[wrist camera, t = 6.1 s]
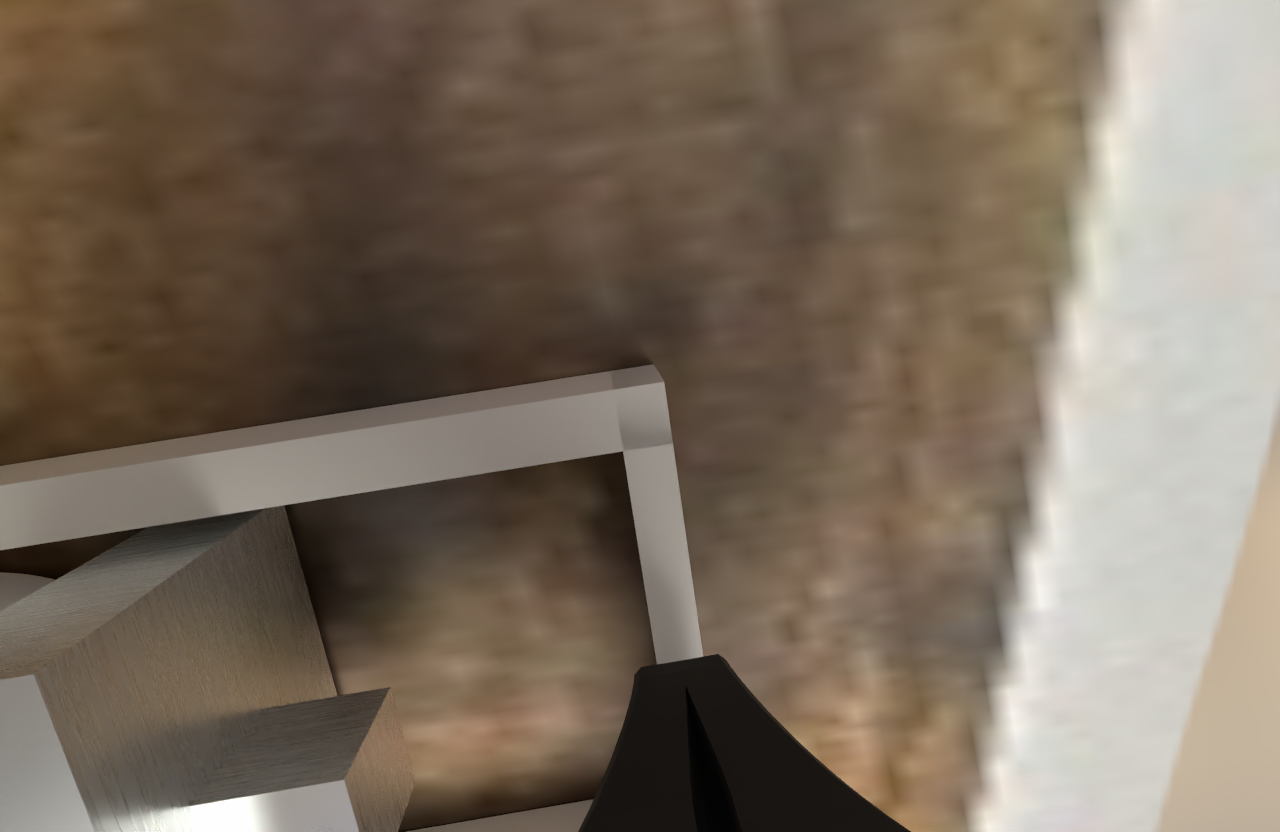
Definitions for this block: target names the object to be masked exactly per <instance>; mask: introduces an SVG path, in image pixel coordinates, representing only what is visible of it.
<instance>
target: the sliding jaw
mask: <svg viewBox="0 0 1280 832" xmlns="http://www.w3.org/2000/svg"><path fill="white" fill-rule="evenodd" d="M414 785H415V780H414V776H413V772H412V768H411V764H410V761H409V757H408V753H407V749H406V745H405V741H404V737H403V734H402V730H401V726H400V722H399V718H398V714H397V710H396V706H395V703H394V699H393V695H392V691H391V687H388V688H382V689H376V690H370V691H364V692H358V693H352V694H346V695H340V696H337V692H336V689H335V685H334V681H333V678H332V674H331V671H330V667H329V664H328V660H327V656H326V653H325V649H324V646H323V642H322V638H321V635H320V631H319V628H318V624H317V621H316V617H315V613H314V610H313V606H312V603H311V599H310V595H309V592H308V588H307V585H306V581H305V578H304V574H303V570H302V567H301V563H300V560H299V556H298V552H297V549H296V545H295V542H294V538H293V535H292V531H291V527H290V524H289V520H288V517H287V513H286V509H285V506H284V505H282V506H276V507H270V508H264V509H257V510H251V511H245V512H238V513H232V514H226V515H220V516H213V517H207V518H201V519H194V520H188V521H182V522H176V523H169V524H163V525H157V526H150V527H148V528H146V529H144V530H142V531H141V532H139V533H137V534H135V535H134V536H132V537H130V538H128V539H127V540H125V541H123V542H121V543H120V544H118V545H116V546H114V547H113V548H111V549H109V550H107V551H106V552H104V553H102V554H100V555H99V556H97V557H95V558H93V559H92V560H90V561H88V562H86V563H85V564H83V565H81V566H79V567H78V568H76V569H74V570H72V571H70V572H69V573H67V574H65V575H63V576H62V577H60V578H58V579H56V580H55V581H53V582H51V583H49V584H48V585H46V586H44V587H42V588H41V589H39V590H37V591H35V592H34V593H32V594H30V595H28V596H27V597H25V598H23V599H21V600H20V601H18V602H16V603H14V604H13V605H11V606H9V607H7V608H6V609H4V610H2V611H0V832H398V830H399V827H400V824H401V821H402V818H403V816H404V813H405V810H406V807H407V804H408V802H409V799H410V796H411V793H412V790H413V788H414Z"/></svg>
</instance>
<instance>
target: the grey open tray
mask: <svg viewBox="0 0 1280 832" xmlns="http://www.w3.org/2000/svg"><path fill="white" fill-rule="evenodd" d="M622 451H623V454H624V461H625V467H626V473H627V479H628V486H629V492H630V498H631V505H632V511H633V517H634V523H635V530H636V536H637V542H638V549H639V555H640V561H641V567H642V574H643V580H644V586H645V593H646V599H647V605H648V612H649V618H650V624H651V630H652V637H653V643H654V649H655V656H656V662H657V664H663V663H669V662H675V661H681V660H687V659H693V658H698V657H703V652H702V645H701V638H700V631H699V624H698V617H697V610H696V603H695V596H694V589H693V582H692V575H691V568H690V560H689V553H688V546H687V539H686V532H685V525H684V518H683V511H682V504H681V497H680V490H679V483H678V476H677V469H676V462H675V455H674V447H673V440H672V433H671V426H670V419H669V412H668V405H667V398H666V391H665V384H664V381H663V379H662V377H661V376H660V374H659V372H658V370H657V369H656V367H655V365H654V364H652V365H646V366H640V367H633V368H627V369H620V370H614V371H607V372H601V373H595V374H588V375H582V376H575V377H569V378H562V379H556V380H550V381H543V382H537V383H530V384H524V385H517V386H511V387H505V388H498V389H492V390H485V391H479V392H472V393H466V394H460V395H453V396H447V397H440V398H434V399H427V400H421V401H415V402H408V403H402V404H395V405H389V406H383V407H376V408H370V409H363V410H357V411H350V412H344V413H338V414H331V415H325V416H318V417H312V418H305V419H299V420H293V421H286V422H280V423H273V424H267V425H260V426H254V427H248V428H241V429H235V430H228V431H222V432H215V433H209V434H203V435H196V436H190V437H183V438H177V439H170V440H164V441H158V442H151V443H145V444H138V445H132V446H125V447H119V448H113V449H106V450H100V451H93V452H87V453H80V454H74V455H68V456H61V457H55V458H48V459H42V460H35V461H29V462H23V463H16V464H10V465H3V466H0V550H6V549H12V548H18V547H25V546H31V545H37V544H43V543H50V542H56V541H62V540H69V539H75V538H81V537H87V536H94V535H100V534H106V533H113V532H119V531H125V530H131V529H138V528H144V527H150V526H157V525H163V524H169V523H176V522H182V521H188V520H194V519H201V518H207V517H213V516H220V515H226V514H232V513H238V512H245V511H251V510H257V509H264V508H270V507H276V506H282V505H289V504H295V503H301V502H308V501H314V500H320V499H327V498H333V497H339V496H345V495H352V494H358V493H364V492H371V491H377V490H383V489H389V488H396V487H402V486H408V485H415V484H421V483H427V482H433V481H440V480H446V479H452V478H459V477H465V476H471V475H478V474H484V473H490V472H496V471H503V470H509V469H515V468H522V467H528V466H534V465H540V464H547V463H553V462H559V461H566V460H572V459H578V458H584V457H591V456H597V455H603V454H610V453H616V452H622ZM593 800H594V799H592V800H586V801H580V802H575V803H569V804H563V805H557V806H551V807H546V808H540V809H534V810H528V811H523V812H517V813H511V814H505V815H499V816H494V817H488V818H482V819H476V820H470V821H465V822H459V823H453V824H447V825H442V826H436V827H430V828H424V829H418V830H413V831H407V832H578V831H579V829H580V827H581V825H582V823H583V821H584V819H585V817H586V815H587V813H588V811H589V809H590V806H591V804H592V802H593Z"/></svg>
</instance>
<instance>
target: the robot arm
mask: <svg viewBox="0 0 1280 832" xmlns="http://www.w3.org/2000/svg"><path fill="white" fill-rule="evenodd" d="M578 832H910V831H909V830H908V829H906V828H905V827H903V826H902V825H900V824H899V823H897V822H896V821H895V820H893V819H892V818H890V817H889V816H887V815H886V814H885V813H883V812H882V811H881V810H879V809H878V808H877V807H875V806H874V805H873V804H871V803H870V802H869V801H867V800H866V799H865V798H863V797H862V796H861V795H859V794H858V793H857V792H856V791H854V790H853V789H852V788H851V787H849V786H848V785H847V784H846V783H844V782H843V781H842V780H841V779H840V778H838V777H837V776H836V775H835V774H834V773H832V772H831V771H830V770H829V769H828V768H827V767H826V766H825V765H823V764H822V763H821V762H820V761H819V760H818V759H817V758H816V757H814V756H813V755H812V754H811V753H810V752H809V751H808V750H807V749H806V748H805V747H803V746H802V745H801V744H800V743H799V742H798V741H797V740H796V739H795V738H794V737H793V736H792V735H791V734H790V733H789V732H788V731H787V730H786V729H785V728H784V727H783V726H782V725H781V724H780V723H779V722H778V721H777V720H776V719H775V718H774V717H773V716H772V715H771V714H770V713H769V712H768V711H767V709H766V708H765V707H764V706H763V705H762V704H761V703H760V702H759V701H758V700H757V698H756V697H755V696H754V695H753V694H752V693H751V692H750V690H749V689H748V688H747V687H746V686H745V684H744V683H743V682H742V681H741V680H740V678H739V677H738V676H737V675H736V673H735V672H734V671H733V669H732V668H731V667H730V665H729V664H728V662H727V661H726V660H725V659H724V658H723V657H721V656H720V655H719V654H716V655H710V656H704V657H698V658H693V659H687V660H681V661H675V662H669V663H663V664H657V665H651V666H646V667H641V668H640V669H639V670H638V671H637V673H636V674H635V676H634V685H633V690H632V695H631V700H630V703H629V707H628V711H627V714H626V717H625V721H624V724H623V727H622V730H621V733H620V736H619V738H618V741H617V744H616V747H615V750H614V752H613V755H612V758H611V761H610V763H609V766H608V768H607V770H606V773H605V775H604V777H603V779H602V782H601V784H600V786H599V788H598V791H597V793H596V795H595V797H594V800H593V802H592V804H591V806H590V809H589V811H588V813H587V815H586V817H585V819H584V821H583V823H582V825H581V827H580V829H579V831H578Z"/></svg>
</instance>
